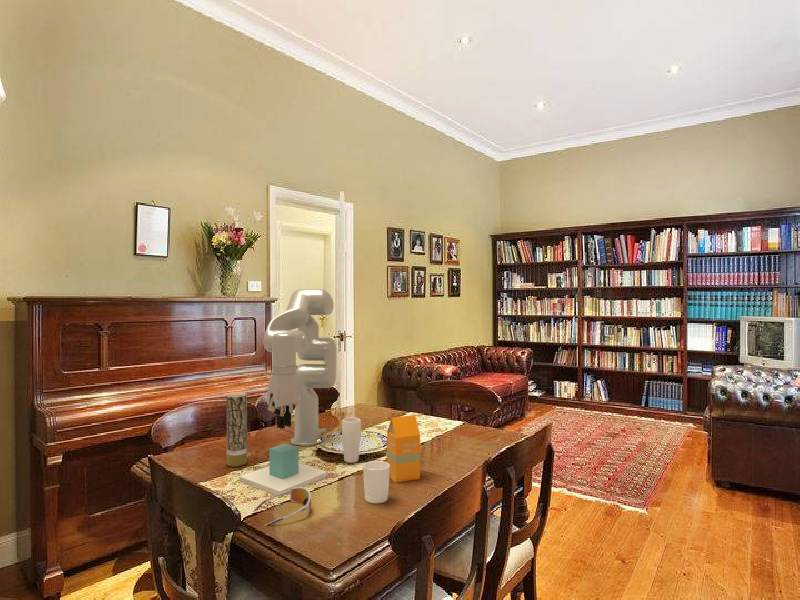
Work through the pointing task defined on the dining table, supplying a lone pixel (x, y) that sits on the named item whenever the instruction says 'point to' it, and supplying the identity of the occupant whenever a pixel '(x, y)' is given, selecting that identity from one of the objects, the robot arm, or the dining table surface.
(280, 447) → the mint green cube
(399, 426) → the orange juice
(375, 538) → the dining table surface
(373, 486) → the white cup
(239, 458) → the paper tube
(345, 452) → the drinking glass
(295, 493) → the sunglasses
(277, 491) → the post board
